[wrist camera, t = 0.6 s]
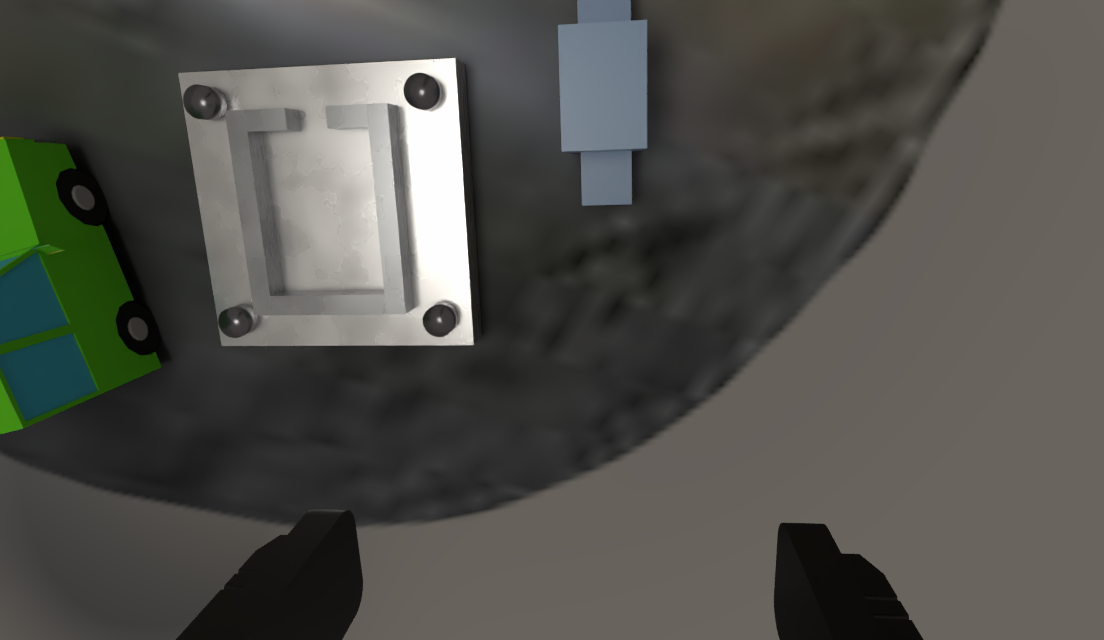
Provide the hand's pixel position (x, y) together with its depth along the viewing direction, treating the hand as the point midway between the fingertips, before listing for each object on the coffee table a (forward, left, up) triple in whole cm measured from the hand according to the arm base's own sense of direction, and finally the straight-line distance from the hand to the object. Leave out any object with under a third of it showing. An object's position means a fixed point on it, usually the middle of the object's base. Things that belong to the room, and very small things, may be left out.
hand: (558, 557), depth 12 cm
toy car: (-2, -31, -23) cm, 39 cm away
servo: (-10, +1, -23) cm, 25 cm away
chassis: (-5, -13, -23) cm, 27 cm away
